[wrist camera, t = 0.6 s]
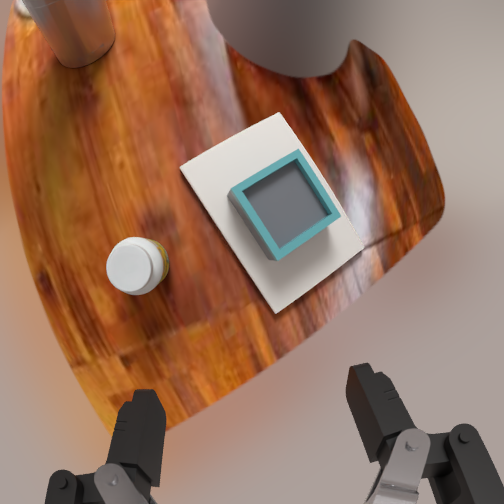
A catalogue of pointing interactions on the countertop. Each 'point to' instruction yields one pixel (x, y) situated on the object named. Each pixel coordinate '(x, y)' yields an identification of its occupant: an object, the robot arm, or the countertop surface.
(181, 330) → the countertop surface
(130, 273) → the supplement bottle
